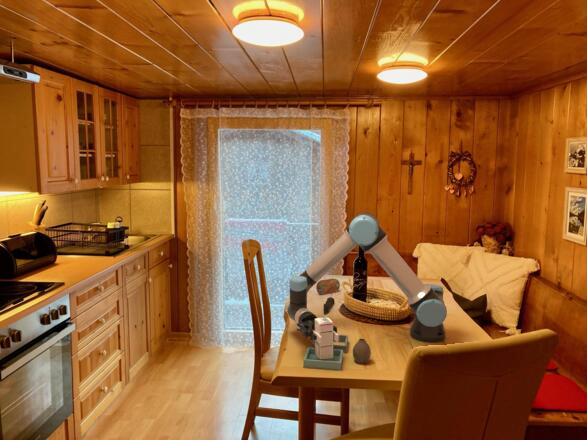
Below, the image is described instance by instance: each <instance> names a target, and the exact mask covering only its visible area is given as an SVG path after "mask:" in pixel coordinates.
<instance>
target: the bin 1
mask: <svg viewBox="0 0 587 440" xmlns="http://www.w3.org/2000/svg"><path fill="white" fill-rule="evenodd" d="M338 335H339V342H338V343H344V344H333V349H337V350H343V354H347V352H348V346H349V335H348V334H338ZM333 343H337V342H336V341H335V340H334V339H333ZM311 348H315V340H314V339H313V340H312V342H311Z"/></svg>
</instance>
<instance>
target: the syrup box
mask: <svg viewBox="0 0 587 440" xmlns="http://www.w3.org/2000/svg"><path fill="white" fill-rule="evenodd" d="M333 325H334V322H333V321H332V320H331V319H330V318H329V317H328V316H327V317H325V316H324V317H317V318H316V319H315V330H314V331H316V332H317V333H318V334H319V335H320V336H321V337H322V344H319V343H318V342H317V341H316V340H315V355H316V356H317V357H318V358H319V359H320V360H321V359H330V358H333V345H334V342H333Z"/></svg>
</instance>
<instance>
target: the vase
mask: <svg viewBox="0 0 587 440" xmlns="http://www.w3.org/2000/svg"><path fill="white" fill-rule="evenodd" d="M371 353H372V351H371V347H370V345H369V344H368V343H367V341H366V339H365V338H359V339H358V341H357V342H355V344H354V346H353V348H352V358H353V360H354V361H355V362H356V363H358V364H366V363H368V362H369V361H370V358H371Z"/></svg>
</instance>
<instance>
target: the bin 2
mask: <svg viewBox="0 0 587 440" xmlns="http://www.w3.org/2000/svg"><path fill="white" fill-rule="evenodd" d="M343 360H344V353H343V350H337V349H333V358H330V359H321V360H320V359H319V358H318V357H317V356H316V355H315V348H312V347H307V350H306V352H305V354H304V357H303V361H302V362H303V363H302V365H303V367H302V368H303V369H304V368H305V369H317V370H319V369H320V370H327V371H328V370H329V371H330V370H331V371H342V368H343V367H342V365H343Z"/></svg>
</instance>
